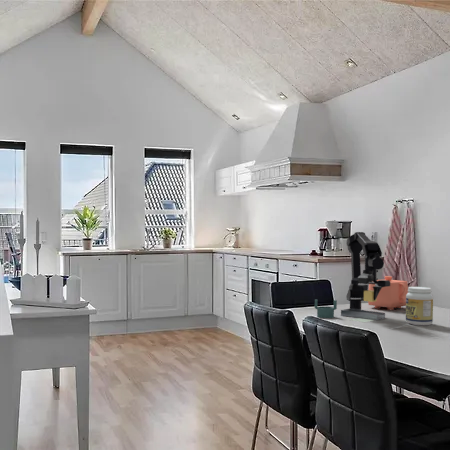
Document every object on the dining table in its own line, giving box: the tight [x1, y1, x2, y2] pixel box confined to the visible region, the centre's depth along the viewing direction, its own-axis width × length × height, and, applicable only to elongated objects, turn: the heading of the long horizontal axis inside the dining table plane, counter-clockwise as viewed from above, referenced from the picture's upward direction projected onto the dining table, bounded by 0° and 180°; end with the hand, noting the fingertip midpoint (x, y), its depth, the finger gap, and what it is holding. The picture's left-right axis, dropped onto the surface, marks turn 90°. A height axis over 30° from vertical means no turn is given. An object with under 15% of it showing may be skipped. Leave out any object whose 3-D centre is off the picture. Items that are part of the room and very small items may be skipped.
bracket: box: [314, 299, 338, 319], centre depth 297 cm, size 9×9×9 cm
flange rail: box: [340, 308, 386, 321], centre depth 298 cm, size 9×20×3 cm, turn 47°
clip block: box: [364, 289, 377, 302], centre depth 295 cm, size 4×4×5 cm
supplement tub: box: [405, 286, 434, 326], centre depth 283 cm, size 12×12×17 cm
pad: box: [350, 317, 375, 323], centre depth 287 cm, size 9×9×1 cm
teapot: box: [367, 275, 409, 311], centre depth 338 cm, size 25×23×18 cm
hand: (370, 299), depth 295 cm, fingers closed on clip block, 4 cm apart
